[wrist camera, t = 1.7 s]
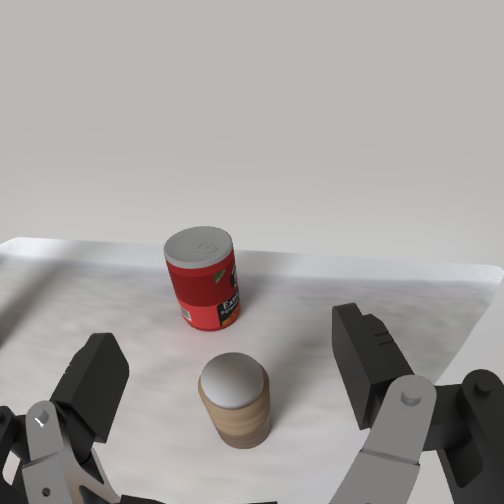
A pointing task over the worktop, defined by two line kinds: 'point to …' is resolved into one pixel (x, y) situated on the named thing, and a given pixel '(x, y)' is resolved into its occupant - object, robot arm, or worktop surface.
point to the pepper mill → (237, 399)
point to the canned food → (204, 276)
